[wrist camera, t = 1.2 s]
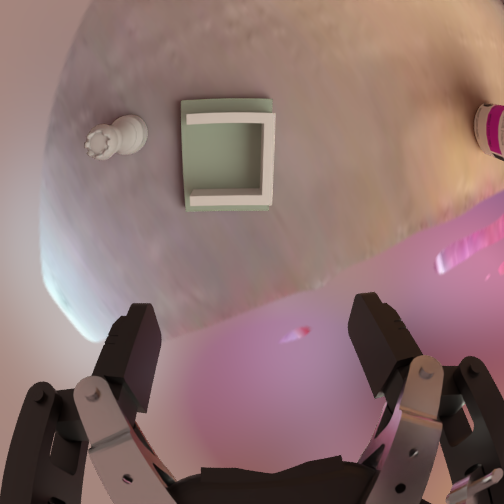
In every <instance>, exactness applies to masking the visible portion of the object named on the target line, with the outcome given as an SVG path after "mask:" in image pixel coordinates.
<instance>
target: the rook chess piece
mask: <svg viewBox="0 0 504 504" xmlns="http://www.w3.org/2000/svg"><path fill="white" fill-rule="evenodd" d="M147 130H148V129H147V127H146V124H145V122H144V121H143V120H142V119H141V118H140V117H138V116H135V115H125V116H121V117H120V118H118V119H116V120H115V121H114V122H113V123H112V124H111V125H106V124H100V125H97V126H95V127H94V128H92V130H91V131H90V132H89V134H88V135H87V136H86V138H87V140H86V142H85V143H84V146H85V148H87V150H88V152H87V154H88V155H89V156H90V157H91V156H92V157H93V158H94V159H96V160H99V161H101V160H107V159H108V158H110V157H111V156H112V155H113V154H114V153H118V154H121V155H130V154H133V153H135V152H137V151H139V150H140V149H141V148H142V147H143V146H144V145H145V142H146V140H147Z"/></svg>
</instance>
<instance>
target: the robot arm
mask: <svg viewBox="0 0 504 504" xmlns="http://www.w3.org/2000/svg"><path fill="white" fill-rule="evenodd" d="M348 333H349V336H350V339H351V341H352V343H353V346H354V348H355V351H356V353H357V355H358V358H359V360H360V363H361V365H362V367H363V370H364V372H365V375H366V377H367V380H368V382H369V385H370V387H371V390H372V393H373V395H374V398H375V399H376V398H379V397H383V396H385V398H386V403H385V404H384V407H383V410H382V412H381V415H380V418H379V420H378V423H377V425H376V428H375V430H374V433H373V435H372V437H371V440H370V442H369V444H368V446H367V447H366V449H365V450H364V452H363V453H362V455H361V457H360V459H359V460H358V462H357V463H354V462H346V461H342V457H341V455H339V456H335V457H330V458H325V459H320V460H314V461H309V462H306V463H303V464H300V465H298V466H295V467H293V468H290V469H287V470H284V471H281V472H278V473H273V474H270V473H263V472H255V471H249V470H244V469H239V468H204V467H201V474H196V475H192V476H189V477H186V478H184V479H181V480H179V481H177V480H176V479H175V478H174V476H173V475H172V473H171V472H170V471H169V470H168V468H167V467H166V466H165V465H164V464H163V462H162V461H161V460H160V459H159V457H158V456H157V454H156V453H155V451H154V450H153V448H152V447H151V445H150V444H149V442H148V440H147V439H146V437H145V436H144V434H143V432H142V431H141V429H140V427H139V426H138V424H137V422H136V421H135V419H136V414H137V412H141V413H147V408H148V403H149V398H150V393H151V388H152V383H153V379H154V374H155V370H156V365H157V361H158V357H159V352H160V348H161V340H162V339H161V331H160V328H159V325H158V322H157V319H156V315H155V312H154V309H153V306H152V304H150V303H133V304H132V305H131V306H130V309H129V311H128V313H127V316H121V317H120V318H119V319H118V320H117V321H116V322H115V323H114V324H113V325H112V327H111V330H110V332H109V334H108V335H109V336H107V339H106V341H105V345H104V346H103V349H102V351H101V353H100V356H99V358H98V361H97V363H96V366H95V368H94V371H93V373H92V376H89V377H86V378H84V379H82V380H81V381H80V382H79V383H78V384H77V385H76V387H75V388H74V389H67V390H59V391H56V390H55V389H54V388H53V387H52V386H51V385H50V384H49V383H47V382H38V383H36V384H34V385H33V386H32V387H31V388H30V389H29V390H28V392H27V395H26V398H25V400H24V403H23V406H22V409H21V411H20V414H19V417H18V420H17V423H16V427H15V430H14V433H13V437H12V440H11V444H10V448H9V452H8V456H7V461H6V465H5V470H4V475H3V480H2V487H1V494H0V504H81V494H82V485H83V476H84V469H85V462H86V456H87V450H88V444H89V441H90V444H91V448H90V449H89V456H90V459H91V461H92V463H93V465H94V467H95V470H96V472H97V474H98V476H99V478H100V480H101V481H102V483H103V485H104V487H105V489H106V491H107V493H108V494H109V496H110V498H111V500H112V501H113V503H114V504H431V503H429V502H427V501H425V500H423V499H422V496H423V493H424V491H425V488H426V485H427V482H428V479H429V476H430V473H431V470H432V467H433V463H434V460H435V456H436V453H437V449H438V445H439V441H440V444H441V447H442V450H443V453H444V457H445V460H446V463H447V467H448V470H449V473H450V477H451V480H452V485H453V486H452V488H451V491H450V493H449V494H448V495H447V497H446V503H447V504H504V400H503V398H502V396H501V394H500V392H499V390H498V388H497V386H496V384H495V382H494V381H493V379H492V377H491V375H490V373H489V371H488V370H487V368H486V366H485V365H484V363H483V362H482V361H481V360H480V359H478V358H476V357H472V356H468V357H465V358H464V359H463V360H462V361H461V363H460V364H459V366H442V365H441V364H440V363H439V362H438V361H437V360H436V359H435V358H433V357H430V356H427V355H423V354H422V352H421V350H420V349H419V347H418V345H417V344H416V342H415V340H414V339H413V337H412V336H411V334H410V332H409V331H408V329H406V326H405V324H404V323H403V321H401V318H400V316H399V315H398V313H397V312H396V310H394V309H393V308H392V307H391V306H389V305H388V304H387V303H382V302H381V300H380V299H379V297H378V295H377V294H376V293H375V292H370V293H361V294H357V295H356V296H355V299H354V302H353V306H352V310H351V314H350V318H349V322H348ZM464 404H466V406H467V408H468V411H469V413H470V415H471V418H472V420H473V422H474V430H473V432H472V430H471V428H470V425H469V423H468V420H467V418H466V415H465V413H464V411H463V408H462V406H463V405H464ZM54 433H55V437H54ZM53 437H54V441H53ZM52 442H53V446H52ZM51 446H52V450H51ZM50 450H51V455H50Z"/></svg>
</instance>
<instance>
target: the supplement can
mask: <svg viewBox="0 0 504 504" xmlns="http://www.w3.org/2000/svg"><path fill="white" fill-rule="evenodd" d="M474 132H475V137H476V139H477V142H478V144H479V147H480V148H481V150H482V151H483V152H484V153H485V154H488V155H490V156H493V157H495V158H498V159H500V160H502V161H504V106H502V105H497V104H491V103H484V104H482V105H481V106H480V107H479V109H478V110H477V112H476V114H475V119H474Z"/></svg>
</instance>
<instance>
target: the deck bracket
mask: <svg viewBox="0 0 504 504" xmlns="http://www.w3.org/2000/svg"><path fill="white" fill-rule="evenodd" d="M275 116H276V113H272V99H257V98H221V99H198V100H184V101H181V134H182V160H183V179H184V195H185V208H186V212H190V211H269V205H272V194H273V171H274V146H275Z"/></svg>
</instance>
